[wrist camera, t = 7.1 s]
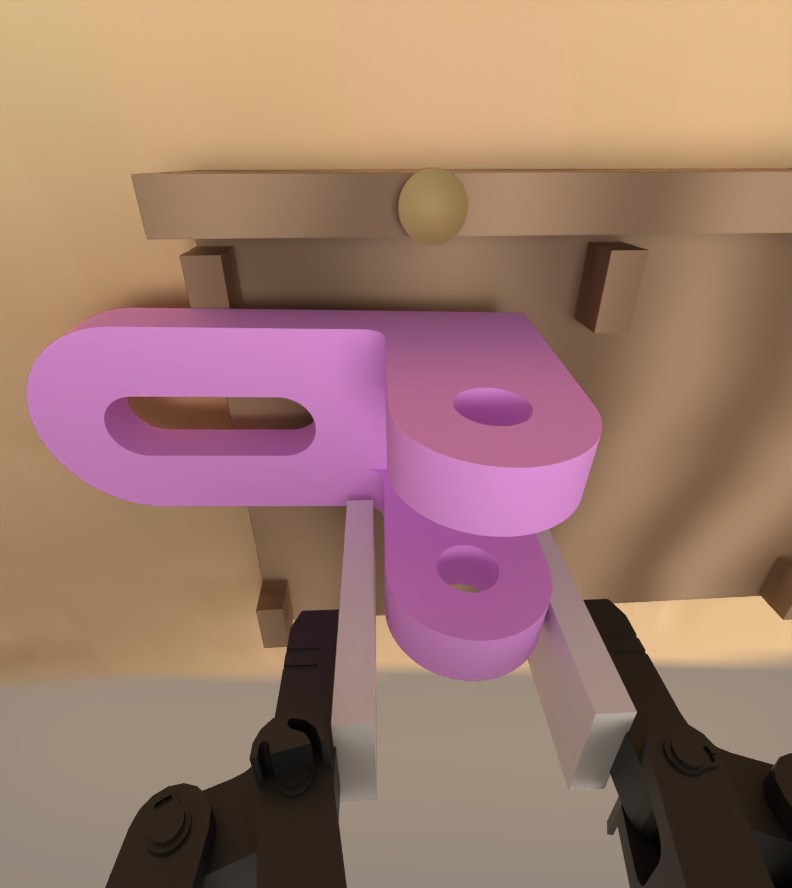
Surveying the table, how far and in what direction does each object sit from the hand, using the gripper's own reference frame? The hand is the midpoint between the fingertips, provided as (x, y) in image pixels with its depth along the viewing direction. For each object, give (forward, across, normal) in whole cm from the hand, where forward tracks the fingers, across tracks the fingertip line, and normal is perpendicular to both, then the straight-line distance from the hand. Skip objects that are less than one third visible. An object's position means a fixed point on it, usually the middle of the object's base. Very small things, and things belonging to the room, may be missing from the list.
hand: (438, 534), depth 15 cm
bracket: (+2, -4, +4) cm, 6 cm away
